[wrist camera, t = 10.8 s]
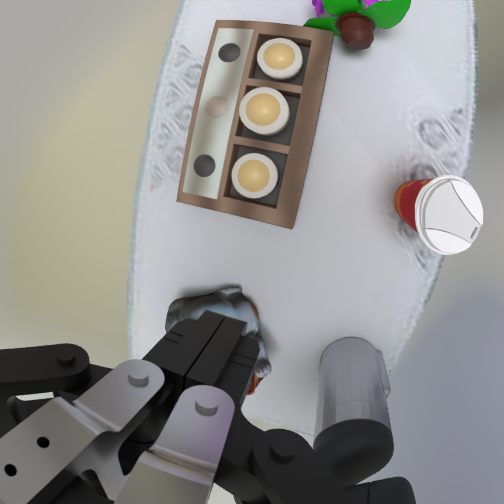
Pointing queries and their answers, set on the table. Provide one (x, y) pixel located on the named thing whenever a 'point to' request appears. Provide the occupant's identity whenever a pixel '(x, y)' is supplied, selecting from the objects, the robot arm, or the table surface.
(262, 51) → the button
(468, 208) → the paper cup
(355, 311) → the table surface
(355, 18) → the purple flower sprig
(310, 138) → the wooden candle tray
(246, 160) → the button
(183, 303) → the lucky cat figurine
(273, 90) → the button mid
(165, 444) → the robot arm
